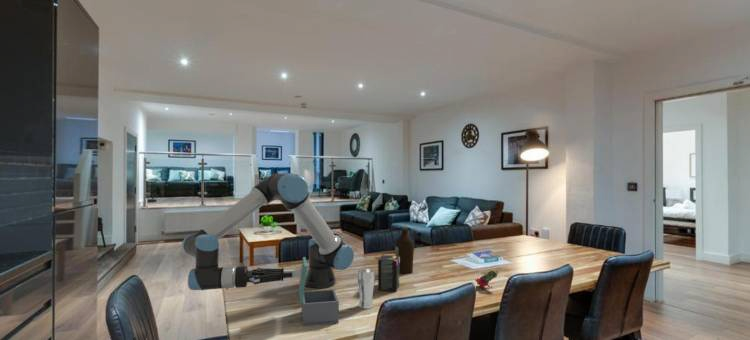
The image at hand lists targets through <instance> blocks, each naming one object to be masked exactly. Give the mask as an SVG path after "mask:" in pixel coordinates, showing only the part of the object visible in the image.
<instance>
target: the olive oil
mask: <svg viewBox="0 0 750 340" xmlns="http://www.w3.org/2000/svg"><path fill="white" fill-rule="evenodd" d="M408 232H409V229H408V226H403V227H401V234H400V235H399V236H398V237H397V238H396V240H395V244H394V247H395V256H400V270H399V274H401V275H402V274H406V275H408V274H412V273H414V270H413V269H414V254H415V253H414V251H415V250H414V249H415V242H414V239H412V237H411V236H410V235H409V234H408Z"/></svg>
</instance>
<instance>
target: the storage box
mask: <svg viewBox="0 0 750 340" xmlns="http://www.w3.org/2000/svg"><path fill="white" fill-rule="evenodd" d="M339 301H340V300H339V298H338V296H337V293H336V291H335V289H334V288H333V289H332V288H331V289H320V290H319V289H318V290H316V289H315V290H306V291H305V290H304V296H303V303H302V304H301V319H302V327H308V326H309V327H310V326H320V324H321V325H331V323H332V324H339V319H340V314H339V312H340V311H339V309H340V308H339V307H340V306H339V305H340V302H339Z"/></svg>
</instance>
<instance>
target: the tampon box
mask: <svg viewBox="0 0 750 340" xmlns="http://www.w3.org/2000/svg"><path fill="white" fill-rule="evenodd" d="M377 265H378V266H377V276H378V277H377V291H384V292H385V291H386V292H397V291H398V290H399V288H400V273H399V270H400V256H396V255H387V254H386V255H385V254H382V255H381V256H380V257H379V259H378V260H377Z"/></svg>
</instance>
